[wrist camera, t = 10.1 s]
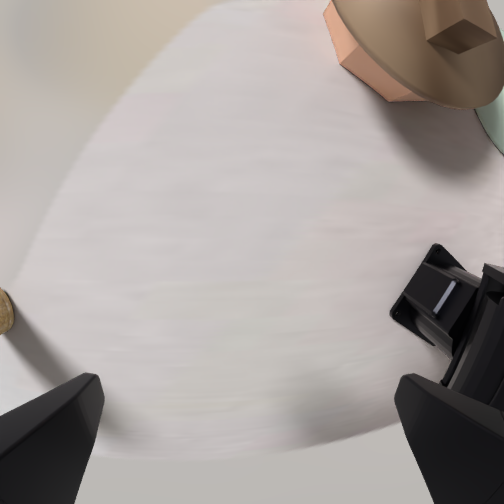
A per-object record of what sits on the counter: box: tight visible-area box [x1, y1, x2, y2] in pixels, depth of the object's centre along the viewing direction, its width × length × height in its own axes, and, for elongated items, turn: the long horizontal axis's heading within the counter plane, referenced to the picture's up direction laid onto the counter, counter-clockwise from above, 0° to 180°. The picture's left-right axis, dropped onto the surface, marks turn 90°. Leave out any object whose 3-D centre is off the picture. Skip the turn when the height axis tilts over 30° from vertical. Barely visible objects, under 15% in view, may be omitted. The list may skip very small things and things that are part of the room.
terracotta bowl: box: [323, 0, 428, 102], centre depth 14 cm, size 10×10×5 cm
